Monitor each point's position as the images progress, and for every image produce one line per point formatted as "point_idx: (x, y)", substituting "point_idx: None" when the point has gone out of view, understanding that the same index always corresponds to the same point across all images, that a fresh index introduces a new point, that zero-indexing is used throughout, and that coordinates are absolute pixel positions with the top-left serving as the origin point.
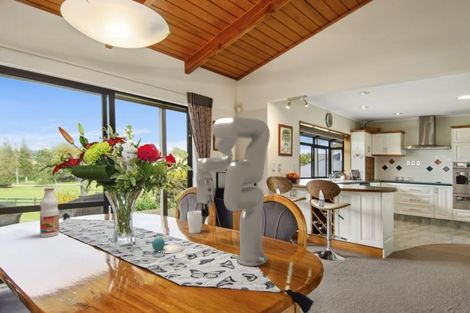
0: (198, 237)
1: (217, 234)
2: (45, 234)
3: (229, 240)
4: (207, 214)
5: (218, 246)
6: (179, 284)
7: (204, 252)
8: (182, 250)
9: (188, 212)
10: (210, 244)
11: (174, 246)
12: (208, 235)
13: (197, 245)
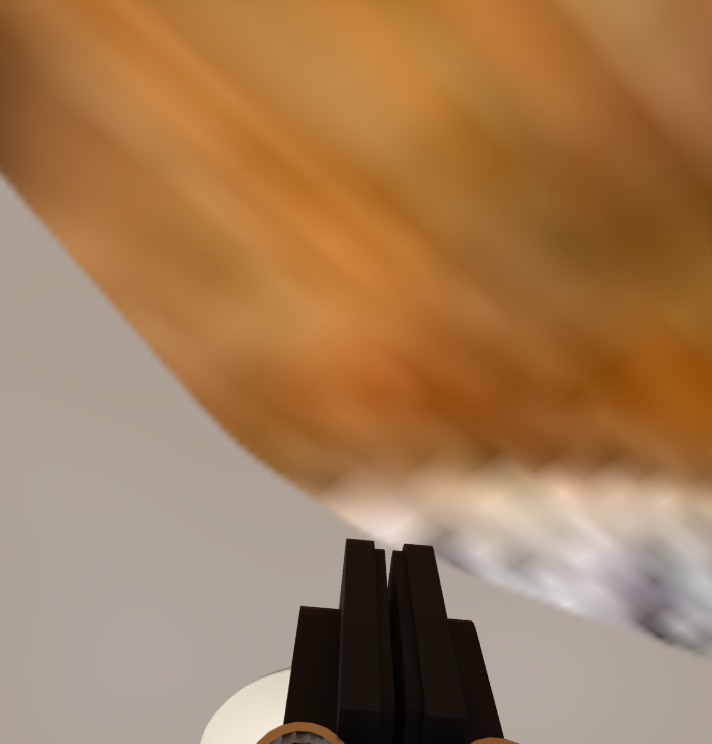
0: (158, 343)
1: (226, 26)
2: None
3: (624, 145)
4: (471, 621)
5: (671, 427)
6: None
7: (677, 638)
8: None
9: None
10: (533, 438)
11: None
12: (171, 174)
13: (437, 553)
